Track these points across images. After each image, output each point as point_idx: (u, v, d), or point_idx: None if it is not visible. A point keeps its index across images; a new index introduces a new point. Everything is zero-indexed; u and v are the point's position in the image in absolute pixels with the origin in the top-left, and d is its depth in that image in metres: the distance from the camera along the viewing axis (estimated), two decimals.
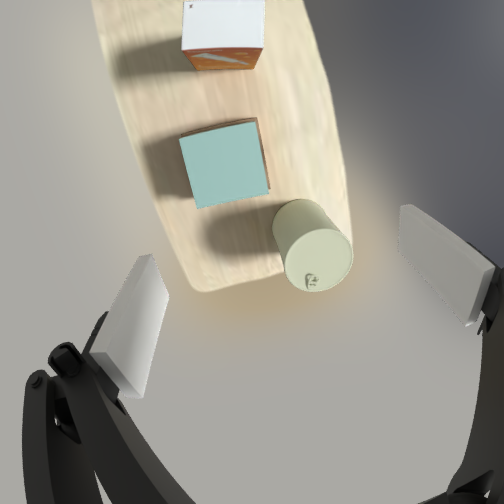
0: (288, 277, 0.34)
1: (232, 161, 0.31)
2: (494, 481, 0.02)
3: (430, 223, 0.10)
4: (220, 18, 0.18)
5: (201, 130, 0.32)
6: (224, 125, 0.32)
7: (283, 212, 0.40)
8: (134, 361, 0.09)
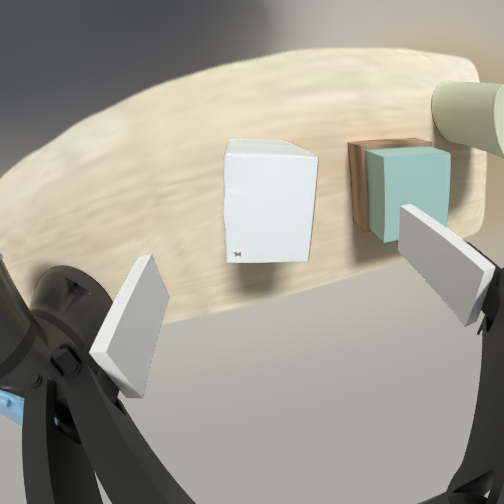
0: None
1: (417, 188, 0.23)
2: (494, 481, 0.02)
3: (430, 223, 0.10)
4: (264, 215, 0.18)
5: (365, 210, 0.29)
6: (365, 184, 0.27)
7: (446, 130, 0.25)
8: (134, 361, 0.09)
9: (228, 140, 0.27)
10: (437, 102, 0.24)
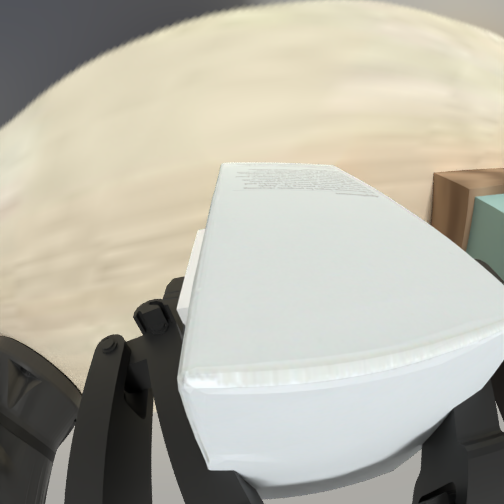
0: None
1: None
2: (457, 495, 0.02)
3: None
4: (333, 470, 0.04)
5: None
6: None
7: None
8: None
9: (221, 166, 0.13)
10: None
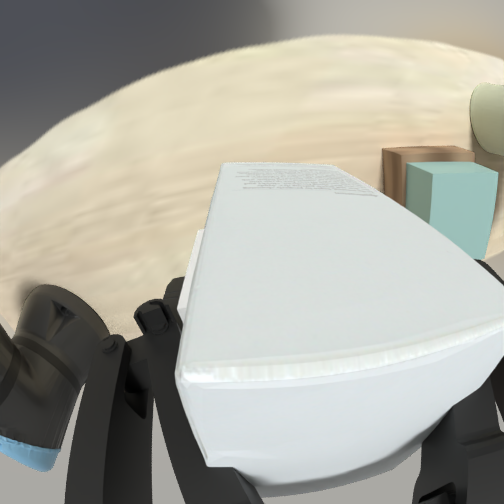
0: None
1: (463, 212, 0.18)
2: (457, 495, 0.02)
3: None
4: (331, 468, 0.04)
5: None
6: (403, 201, 0.21)
7: (486, 139, 0.19)
8: None
9: (221, 166, 0.13)
10: (477, 106, 0.18)
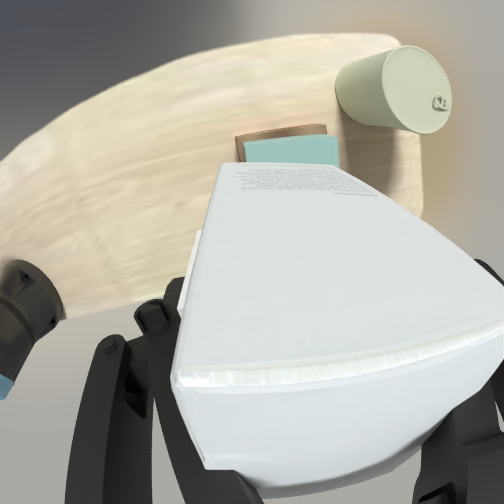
0: (434, 131, 0.20)
1: None
2: (457, 495, 0.02)
3: None
4: (330, 470, 0.04)
5: None
6: None
7: (351, 112, 0.28)
8: None
9: (220, 166, 0.13)
10: (339, 83, 0.27)
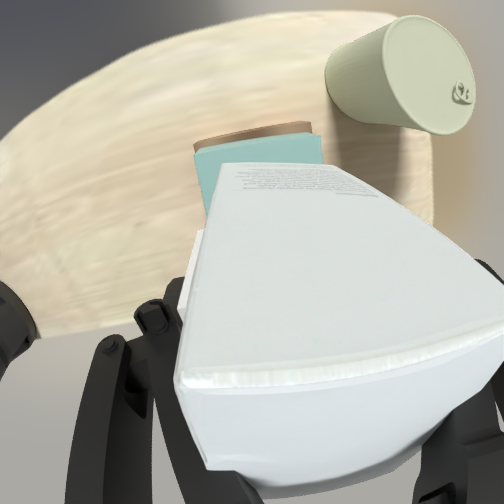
0: (454, 131, 0.14)
1: None
2: (457, 495, 0.02)
3: None
4: (332, 470, 0.04)
5: None
6: None
7: (345, 106, 0.22)
8: None
9: (221, 166, 0.13)
10: (330, 70, 0.20)
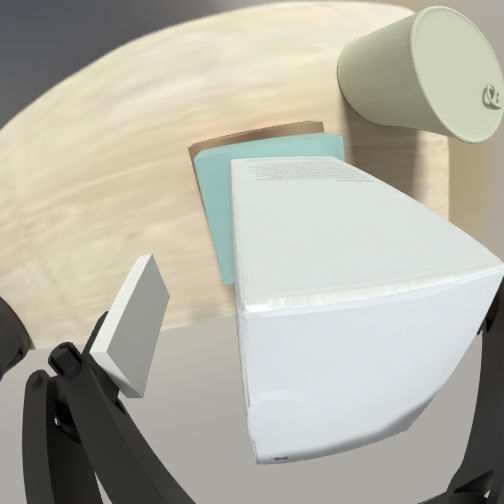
0: (484, 138, 0.11)
1: None
2: (494, 481, 0.02)
3: None
4: (354, 415, 0.06)
5: None
6: None
7: (360, 105, 0.19)
8: (134, 361, 0.09)
9: (230, 162, 0.14)
10: (343, 66, 0.18)
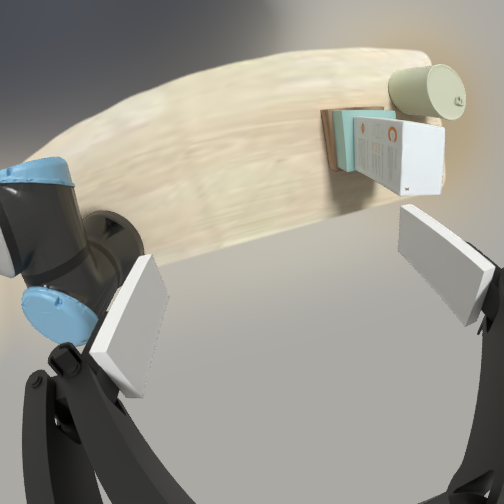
0: (455, 118, 0.29)
1: None
2: (494, 481, 0.02)
3: (430, 223, 0.10)
4: (422, 162, 0.23)
5: (335, 155, 0.39)
6: (333, 136, 0.38)
7: (400, 104, 0.37)
8: (134, 361, 0.09)
9: (355, 116, 0.32)
10: (392, 84, 0.35)
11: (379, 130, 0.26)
